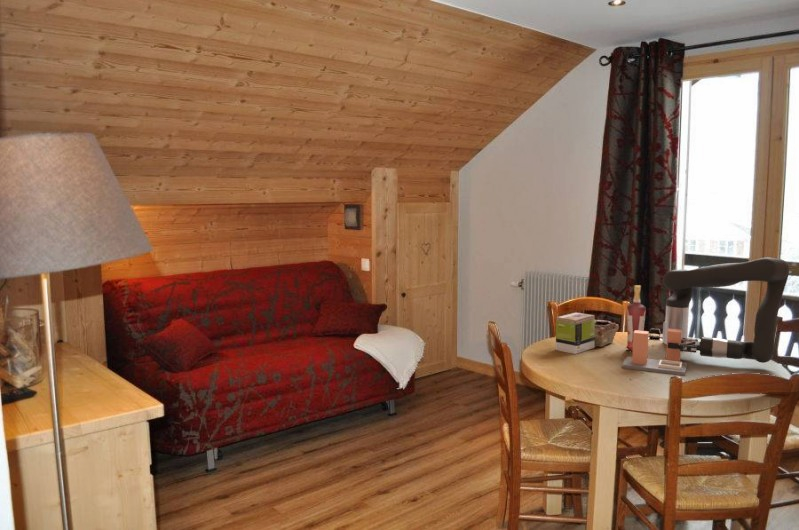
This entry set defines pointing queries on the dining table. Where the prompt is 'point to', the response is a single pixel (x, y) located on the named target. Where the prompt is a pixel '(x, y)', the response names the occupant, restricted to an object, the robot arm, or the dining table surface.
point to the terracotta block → (673, 337)
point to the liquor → (635, 317)
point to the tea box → (575, 332)
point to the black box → (655, 331)
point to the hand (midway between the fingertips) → (668, 343)
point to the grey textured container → (604, 332)
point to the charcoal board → (642, 363)
